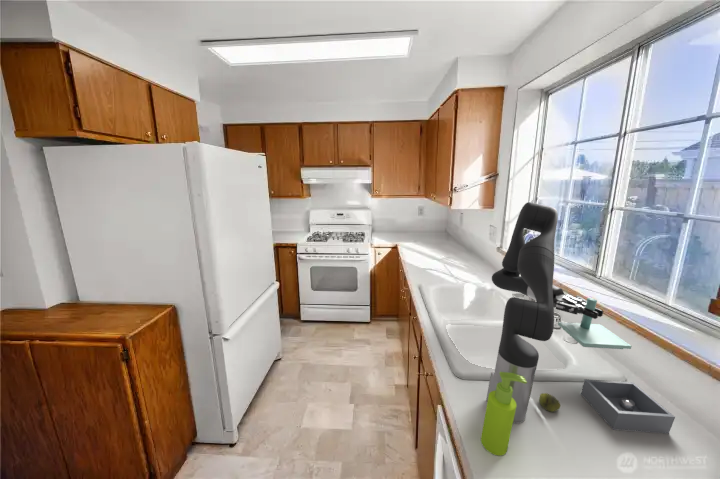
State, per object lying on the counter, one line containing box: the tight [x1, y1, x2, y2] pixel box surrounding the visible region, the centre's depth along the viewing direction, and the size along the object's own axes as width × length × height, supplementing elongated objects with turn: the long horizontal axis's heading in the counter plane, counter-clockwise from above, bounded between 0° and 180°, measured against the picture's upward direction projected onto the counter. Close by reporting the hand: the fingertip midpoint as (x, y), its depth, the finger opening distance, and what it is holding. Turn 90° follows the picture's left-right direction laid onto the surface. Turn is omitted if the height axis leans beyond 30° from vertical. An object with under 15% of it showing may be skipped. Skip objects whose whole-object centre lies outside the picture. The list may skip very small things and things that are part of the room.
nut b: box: [619, 397, 635, 411], centre depth 81 cm, size 3×3×2 cm
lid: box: [557, 297, 632, 350], centre depth 89 cm, size 14×12×12 cm
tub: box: [580, 378, 676, 434], centre depth 79 cm, size 14×12×6 cm
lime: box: [538, 392, 561, 413], centre depth 79 cm, size 4×5×5 cm
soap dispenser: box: [480, 372, 527, 457], centre depth 67 cm, size 6×7×20 cm
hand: (599, 315), depth 90 cm, fingers closed on lid, 2 cm apart
